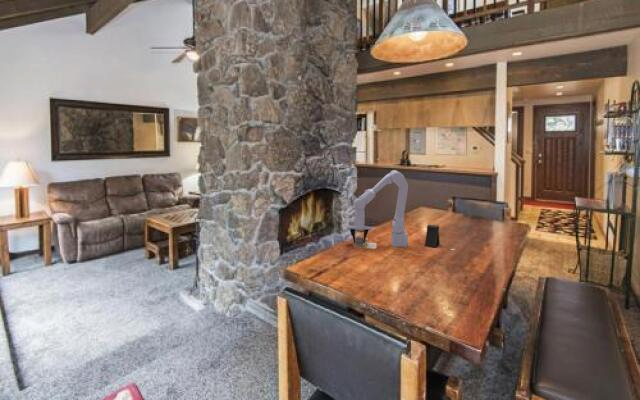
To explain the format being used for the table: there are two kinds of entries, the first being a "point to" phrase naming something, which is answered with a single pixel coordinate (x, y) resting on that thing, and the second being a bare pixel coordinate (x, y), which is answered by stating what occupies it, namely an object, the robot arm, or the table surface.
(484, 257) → the table surface
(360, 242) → the gray block
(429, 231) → the phone stand
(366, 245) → the door board
